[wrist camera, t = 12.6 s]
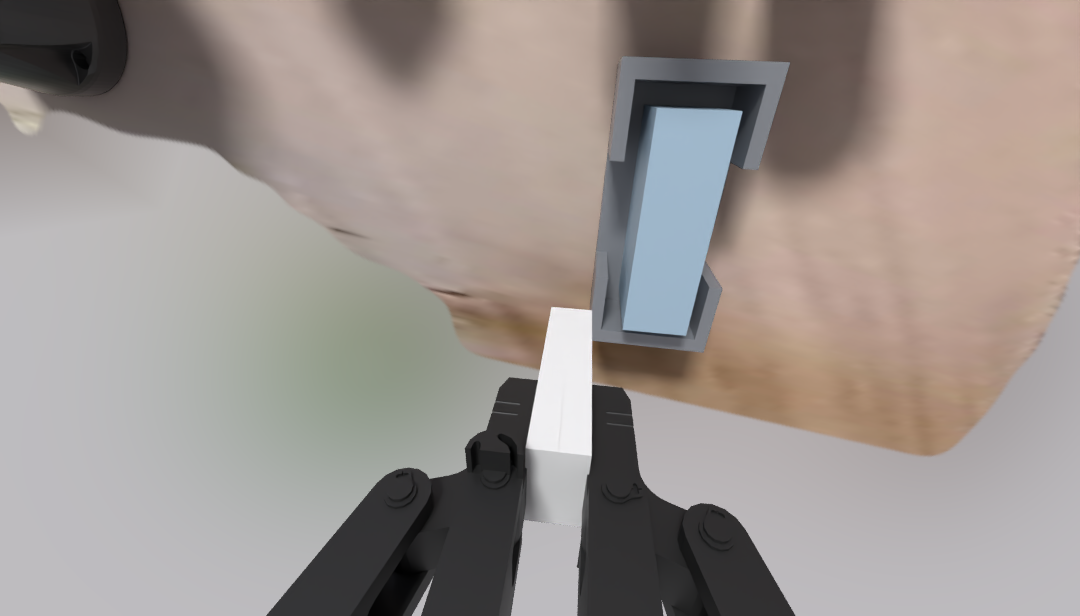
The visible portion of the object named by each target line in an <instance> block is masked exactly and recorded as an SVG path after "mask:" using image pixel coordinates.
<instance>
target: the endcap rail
mask: <svg viewBox="0 0 1080 616" xmlns="http://www.w3.org/2000/svg"><path fill="white" fill-rule="evenodd" d="M789 65H790V62H769V61H741V60H713V59H686V58H658V57H630V56H622V58H621V59H620V61H619V63H618V67H617V76H616V84H615V93H614V101H613V110H612V119H611V127H610V136H609V144H608V153H607V162H606V170H605V179H604V187H603V196H602V204H601V213H600V222H599V230H598V239H597V247H596V256H595V265H594V273H593V282H592V290H591V299H590V310H592V341H601V342H610V343H619V344H629V345H638V346H647V347H657V348H666V349H675V350H684V351H694V352H704V349H705V345H706V342H707V339H708V335H709V332H710V329H711V325H712V322H713V319H714V315H715V312H716V309H717V305H718V302H719V299H720V295H721V292H722V287H721V285H720V284H719V282H718V281H717V279H716V277H715V276H714V274H713V273H712V271H711V269H710V268H709V266H708V265H707V263H706V261H705V263H704V267H703V271H702V275H701V278H700V282H699V286H698V290H697V294H696V298H695V302H694V306H693V310H692V314H691V318H690V322H689V326H688V330H687V334H686V336H683V335H673V334H662V333H651V332H641V331H630V330H623V329H622V318H621V308H620V297H619V280H620V273H621V266H622V259H623V252H624V245H625V238H626V231H627V224H628V216H629V209H630V202H631V195H632V188H633V181H634V174H635V167H636V160H637V153H638V145H639V138H640V131H641V124H642V117H643V110H644V105H667V106H695V107H714V108H722V109H729V110H737V111H743V112H742V116H741V120H740V124H739V128H738V132H737V136H736V139H735V143H734V147H733V151H732V155H731V159H730V163H732V164H734V165H736V166H738V167H740V168H742V169H751V170H758V169H759V165H760V162H761V159H762V155H763V152H764V149H765V145H766V142H767V138H768V135H769V132H770V128H771V125H772V122H773V118H774V115H775V112H776V108H777V105H778V102H779V98H780V95H781V92H782V88H783V85H784V82H785V78H786V75H787V72H788V68H789ZM730 163H729V167H730ZM729 167H728V171H729ZM728 171H727V175H728ZM727 175H726V179H727ZM726 179H725V182H726ZM724 186H725V183H724ZM723 190H724V187H723ZM722 194H723V191H722ZM721 197H722V195H721ZM720 201H721V199H720ZM719 205H720V203H719ZM718 209H719V207H718ZM717 213H718V211H717ZM716 216H717V215H716ZM715 220H716V219H715ZM714 224H715V223H714ZM713 228H714V227H713Z"/></svg>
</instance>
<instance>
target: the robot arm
mask: <svg viewBox="0 0 1080 616" xmlns="http://www.w3.org/2000/svg"><path fill="white" fill-rule="evenodd" d="M125 61H126V35H125V29H124V24H123V20H122V16H121V12H120V9H119V6H118V3H117V1H116V0H0V82H2V83H6V84H10V85H14V86H18V87H22V88H26V89H30V90H34V91H38V92H41V93H45V94H51V95H58V96H94V95H99V94H102V93H104V92H106V91H108V90H110V89H111V88H112V87H113V86H114V85H115V84H116V83H117V82H118V80H119V79H120V77H121V75H122V72H123V70H124V66H125ZM465 453H466V463H467V468H466V469H465V470H463V471H461V472H459V473H457V474H453V475H449V476H444V477H438V478H433V479H429V478H428V476H427V474H425V473H424V472H422V471H421V470H419V469H414V468H404V469H398V470H396V471H394V472H392V473H389V474H387V475H386V476H384V478H382V479H381V480H380V481H379V482H378V483H377V484H376V485H375V486H374V487H373V489H372V490H371V491H370V492H369V493H368V495H367V496H366V497H365V498H364V499H363V501H362V502H361V503H360V504H359V505H358V507H357V508H356V509H355V510H354V511H353V513H352V514H351V515H350V516H349V517H348V519H347V520H346V521H345V522H344V523H343V524H342V526H341V527H340V528H339V529H338V530H337V532H336V533H335V534H334V535H333V537H332V538H331V539H330V540H329V541H328V542H327V544H326V545H325V546H324V547H323V548H322V550H321V551H320V552H319V553H318V554H317V556H316V557H315V558H314V559H313V560H312V562H311V563H310V564H309V565H308V567H307V568H306V569H305V570H304V571H303V572H302V574H301V575H300V576H299V577H298V578H297V580H296V581H295V582H294V583H293V584H292V586H291V587H290V588H289V589H288V590H287V592H286V593H285V594H284V595H283V596H282V597H281V599H280V600H279V601H278V602H277V603H276V605H275V606H274V607H273V608H272V609H271V611H270V612H269V613H268V614H267V616H412V614H413V612H414V610H415V609H416V607H417V605H418V603H419V601H420V600H421V598H422V596H423V594H424V592H425V591H426V589H427V587H428V585H429V584H430V582H431V580H432V578H433V581H432V584H431V587H430V590H429V593H428V596H427V599H426V602H425V605H424V608H423V612H422V615H421V616H511V610H512V604H513V597H514V590H515V584H516V578H517V570H518V564H519V557H520V551H521V545H522V528H523V521H524V520H529V521H538V522H544V523H552V524H559V525H567V526H574V527H582V529H581V544H580V551H579V557H578V565H577V567H578V568H579V582H578V584H579V585H578V614H577V615H578V616H663V609H662V602H663V605H664V608H665V611H666V614H667V616H795V614H794V612H793V611H792V609H791V607H790V606H789V604H788V602H787V600H786V599H785V597H784V595H783V594H782V592H781V590H780V588H779V587H778V585H777V583H776V582H775V580H774V578H773V576H772V575H771V573H770V571H769V569H768V568H767V566H766V564H765V563H764V561H763V560H762V557H761V556H760V554H759V552H758V551H757V549H756V547H755V545H754V544H753V542H752V540H751V538H750V537H749V535H748V533H747V532H746V530H745V529H744V527H743V526H742V525H741V523H740V522H739V521H738V520H737V519H736V518H735V517H734V516H733V515H731V514H730V513H729V512H728V511H726V510H725V509H723V508H720V507H718V506H715V505H713V504H702V503H700V504H697V505H694V506H691V507H690V508H689V509H688V510H685V509H683V508H680V507H678V506H676V505H673V504H671V503H669V502H667V501H664V500H663V499H661V498H659V497H658V496H656V495H655V494H654V493H653V492H651V491H650V490H649V488H647V486H646V485H645V484H644V482H643V480H642V478H641V476H640V473H639V467H638V459H637V451H636V442H635V434H634V428H633V418H632V410H631V401H630V399H629V397H628V396H627V394H626V393H625V391H624V390H623V388H618V387H609V386H599V385H592V310H581V309H570V308H558V307H552V308H551V313H550V319H549V324H548V330H547V335H546V340H545V346H544V351H543V356H542V362H541V367H540V373H539V378H538V380H530V379H519V378H508V380H506V382H505V383H504V384H503V385H502V386H501V387H500V388H499V391H498V394H497V398H496V402H495V404H494V407H493V411H492V414H491V417H490V420H489V424H488V427H487V430H486V431H483V432H480V433H478V434H477V435H476V436H474V437H473V438H472V439H470V441H469V443H468V444H467V446H466V448H465ZM433 576H434V577H433ZM661 600H662V601H661Z"/></svg>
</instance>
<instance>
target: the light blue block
mask: <svg viewBox="0 0 1080 616" xmlns="http://www.w3.org/2000/svg"><path fill="white" fill-rule="evenodd" d="M742 112H743V111H737V110H729V109H722V108H714V107H695V106H667V105H644V110H643V117H642V124H641V131H640V138H639V145H638V153H637V160H636V167H635V174H634V181H633V188H632V195H631V202H630V209H629V216H628V224H627V231H626V238H625V245H624V252H623V259H622V266H621V273H620V280H619V297H620V308H621V318H622V329H623V330H630V331H641V332H651V333H662V334H673V335H683V336H686V334H687V330H688V326H689V322H690V318H691V314H692V310H693V306H694V302H695V298H696V294H697V290H698V286H699V282H700V278H701V275H702V271H703V267H704V263H705V259H706V255H707V251H708V247H709V243H710V239H711V235H712V231H713V227H714V223H715V219H716V215H717V211H718V207H719V203H720V199H721V195H722V191H723V187H724V183H725V179H726V175H727V171H728V167H729V163H730V159H731V155H732V151H733V147H734V143H735V139H736V136H737V132H738V128H739V124H740V120H741V116H742Z"/></svg>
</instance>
